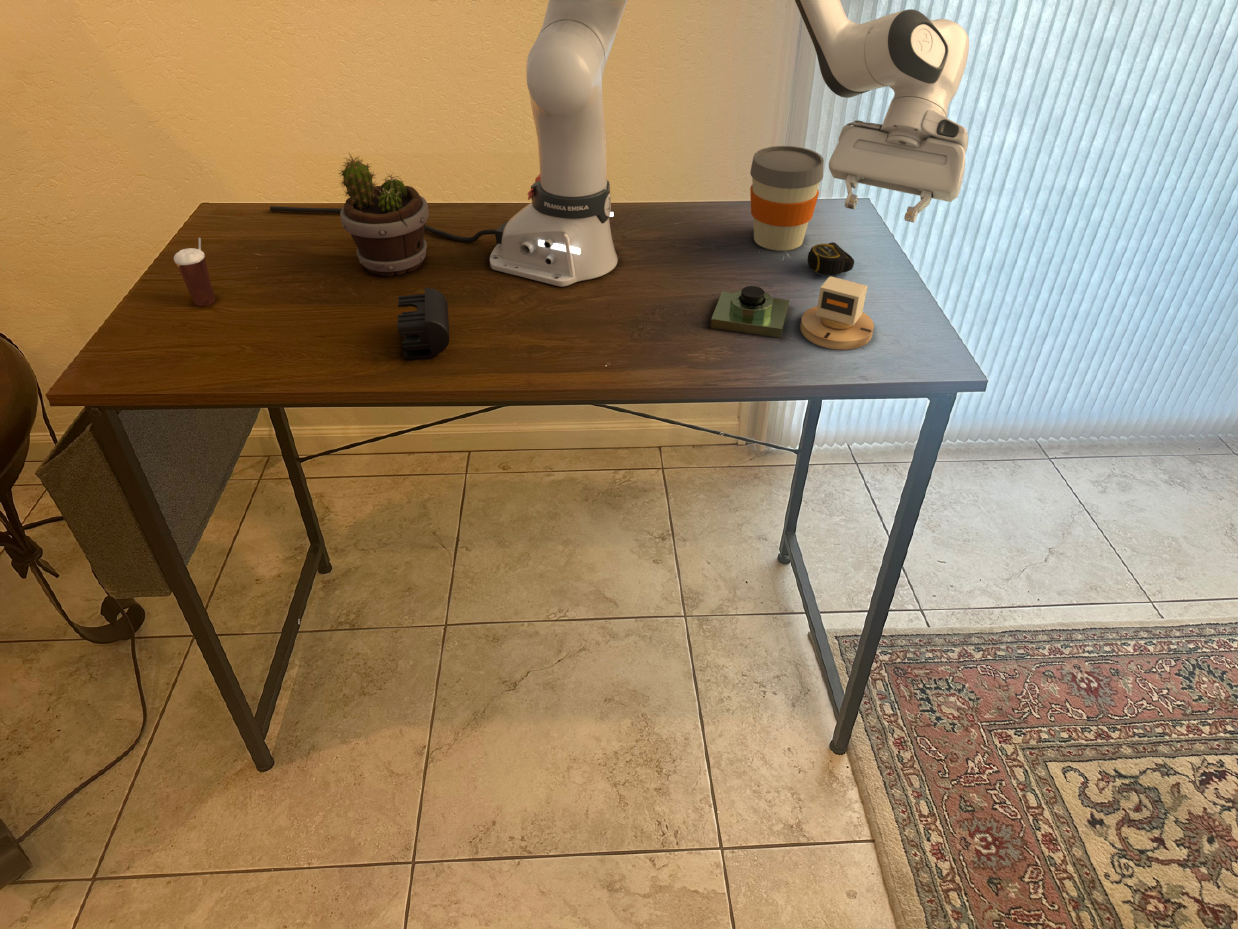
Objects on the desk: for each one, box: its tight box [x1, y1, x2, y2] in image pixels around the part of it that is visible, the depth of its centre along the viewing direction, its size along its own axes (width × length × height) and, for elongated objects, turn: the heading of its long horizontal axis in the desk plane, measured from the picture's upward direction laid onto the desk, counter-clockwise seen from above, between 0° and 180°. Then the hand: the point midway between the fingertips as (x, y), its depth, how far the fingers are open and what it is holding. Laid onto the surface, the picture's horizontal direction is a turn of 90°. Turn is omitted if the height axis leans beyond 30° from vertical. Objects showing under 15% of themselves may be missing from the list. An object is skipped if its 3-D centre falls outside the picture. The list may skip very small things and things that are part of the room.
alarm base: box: [710, 289, 790, 339], centre depth 136 cm, size 11×9×4 cm
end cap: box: [397, 287, 450, 361], centre depth 130 cm, size 10×7×7 cm
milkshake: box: [173, 237, 216, 307], centre depth 139 cm, size 5×5×10 cm
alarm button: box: [740, 285, 766, 306], centre depth 134 cm, size 4×4×2 cm
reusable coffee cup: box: [749, 145, 825, 252], centre depth 153 cm, size 13×13×15 cm
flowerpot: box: [337, 152, 430, 277], centre depth 145 cm, size 14×15×20 cm
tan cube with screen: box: [816, 276, 868, 329], centre depth 131 cm, size 5×6×6 cm
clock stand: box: [799, 305, 875, 351], centre depth 133 cm, size 11×11×2 cm
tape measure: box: [806, 241, 855, 277], centre depth 147 cm, size 7×7×4 cm
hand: (878, 213), depth 133 cm, fingers open, 8 cm apart
